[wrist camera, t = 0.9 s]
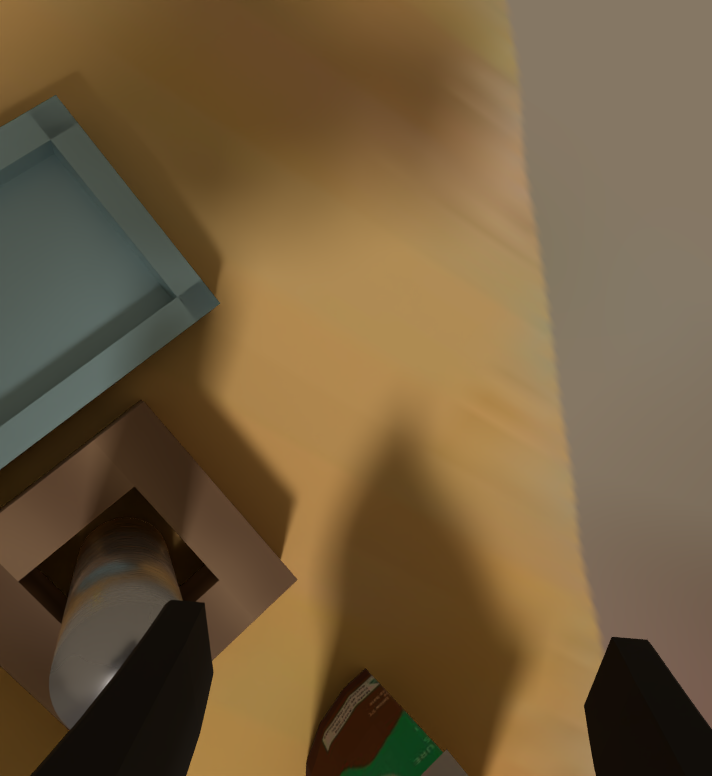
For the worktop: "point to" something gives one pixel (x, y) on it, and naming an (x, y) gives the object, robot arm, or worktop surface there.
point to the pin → (108, 610)
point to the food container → (374, 738)
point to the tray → (76, 277)
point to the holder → (91, 498)
